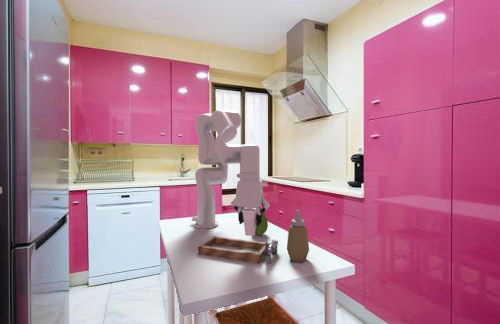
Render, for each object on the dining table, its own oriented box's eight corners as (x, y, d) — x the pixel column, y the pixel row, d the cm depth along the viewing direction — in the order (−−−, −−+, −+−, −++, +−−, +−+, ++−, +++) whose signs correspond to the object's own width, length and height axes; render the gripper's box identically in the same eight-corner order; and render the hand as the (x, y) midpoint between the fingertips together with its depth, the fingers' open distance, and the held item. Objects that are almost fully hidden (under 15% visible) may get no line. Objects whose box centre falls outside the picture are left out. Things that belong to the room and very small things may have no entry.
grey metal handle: (263, 264, 88) (263, 242, 88) (272, 251, 99) (272, 232, 99) (269, 265, 87) (269, 243, 87) (278, 252, 99) (278, 232, 98)
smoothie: (246, 237, 92) (246, 199, 92) (238, 233, 98) (238, 197, 97) (261, 235, 95) (261, 198, 95) (253, 230, 101) (253, 196, 100)
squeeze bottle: (304, 265, 87) (304, 214, 86) (283, 260, 91) (283, 211, 91) (312, 257, 94) (312, 209, 93) (291, 253, 98) (291, 207, 97)
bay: (198, 254, 97) (198, 246, 97) (214, 243, 109) (214, 236, 109) (259, 263, 89) (259, 255, 88) (269, 250, 101) (269, 243, 101)
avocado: (259, 238, 115) (259, 212, 115) (248, 234, 121) (247, 209, 121) (271, 234, 120) (271, 210, 120) (260, 231, 126) (260, 207, 126)
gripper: (224, 177, 95) (225, 224, 96) (268, 178, 89) (269, 228, 90) (233, 175, 102) (233, 219, 103) (274, 176, 96) (274, 223, 97)
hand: (250, 223), depth 96 cm, fingers closed on smoothie, 6 cm apart
